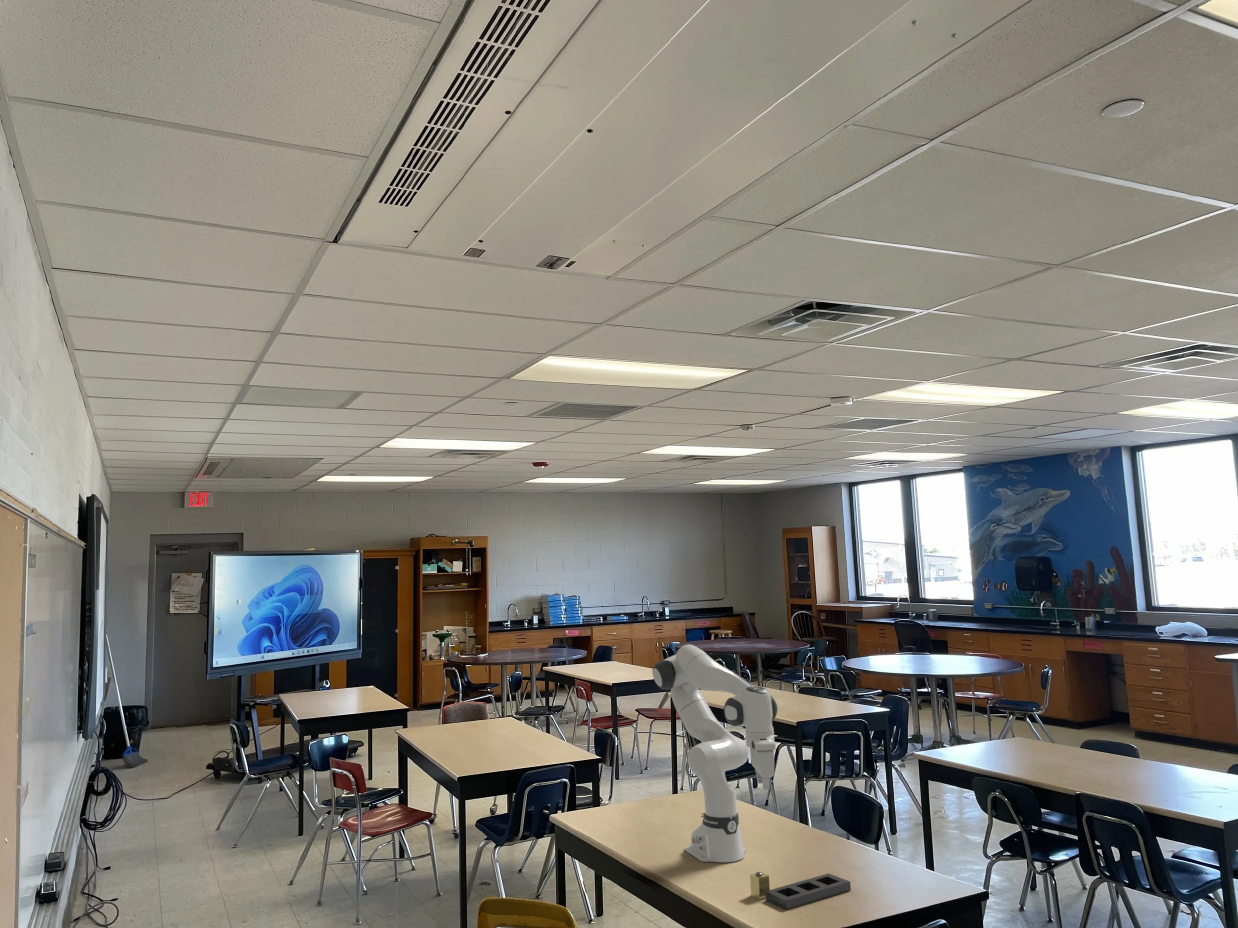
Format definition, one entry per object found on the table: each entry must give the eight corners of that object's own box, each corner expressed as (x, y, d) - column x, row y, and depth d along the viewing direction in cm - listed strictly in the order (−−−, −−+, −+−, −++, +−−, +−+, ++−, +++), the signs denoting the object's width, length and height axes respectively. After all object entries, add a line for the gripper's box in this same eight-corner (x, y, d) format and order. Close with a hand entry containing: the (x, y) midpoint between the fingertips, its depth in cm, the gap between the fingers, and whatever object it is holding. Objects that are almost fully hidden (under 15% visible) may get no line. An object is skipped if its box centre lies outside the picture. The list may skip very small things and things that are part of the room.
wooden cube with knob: (751, 895, 249) (749, 872, 250) (761, 892, 251) (760, 869, 252) (759, 899, 245) (758, 876, 246) (770, 896, 247) (768, 873, 248)
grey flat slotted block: (765, 899, 245) (765, 891, 245) (829, 881, 258) (828, 873, 258) (786, 909, 237) (786, 900, 237) (850, 890, 250) (850, 881, 251)
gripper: (744, 735, 269) (747, 779, 267) (755, 745, 249) (759, 793, 247) (763, 734, 269) (766, 778, 267) (776, 745, 249) (779, 793, 247)
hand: (763, 786), depth 257 cm, fingers open, 8 cm apart
